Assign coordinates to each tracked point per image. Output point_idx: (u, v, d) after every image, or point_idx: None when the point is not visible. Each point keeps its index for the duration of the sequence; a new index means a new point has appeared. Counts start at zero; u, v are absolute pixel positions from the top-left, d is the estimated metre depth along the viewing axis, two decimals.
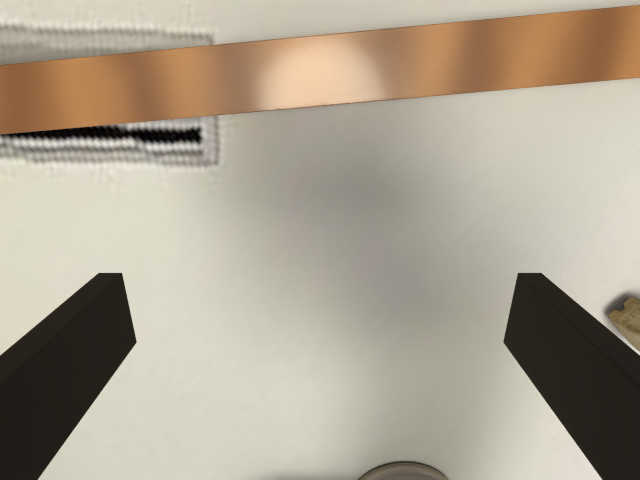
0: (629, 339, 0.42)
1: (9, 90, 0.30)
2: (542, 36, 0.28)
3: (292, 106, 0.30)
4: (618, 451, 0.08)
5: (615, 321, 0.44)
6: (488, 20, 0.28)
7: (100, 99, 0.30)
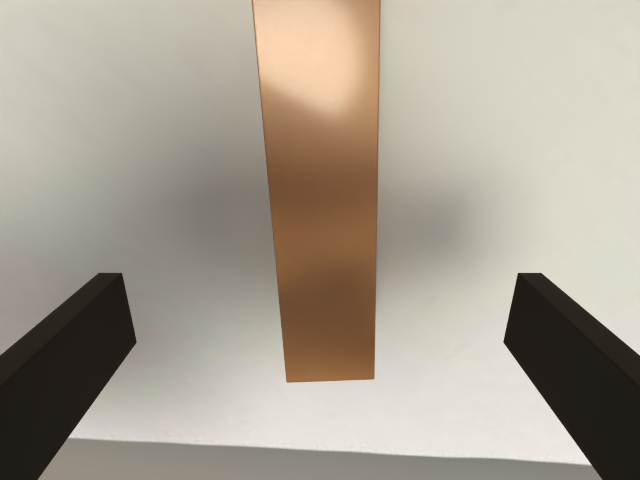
0: None
1: None
2: (344, 81, 0.16)
3: None
4: (618, 451, 0.08)
5: None
6: None
7: None
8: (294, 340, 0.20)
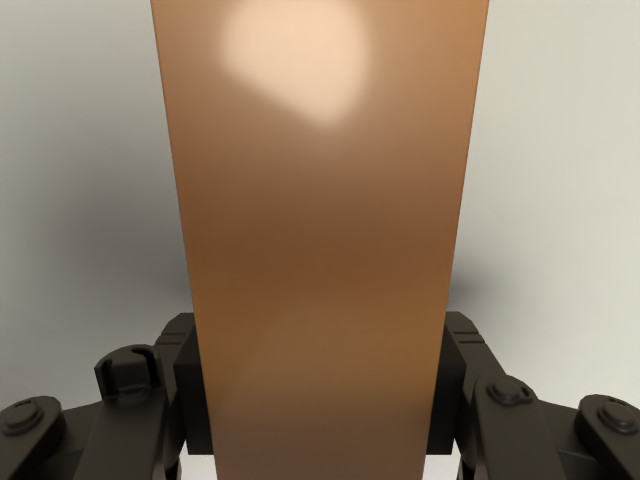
0: None
1: None
2: None
3: None
4: None
5: None
6: None
7: None
8: None
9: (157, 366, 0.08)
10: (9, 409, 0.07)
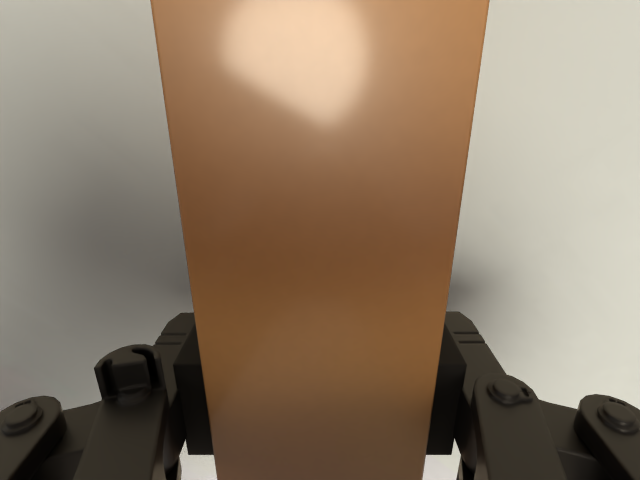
0: None
1: None
2: None
3: None
4: None
5: None
6: None
7: None
8: None
9: (157, 366, 0.08)
10: (9, 409, 0.07)
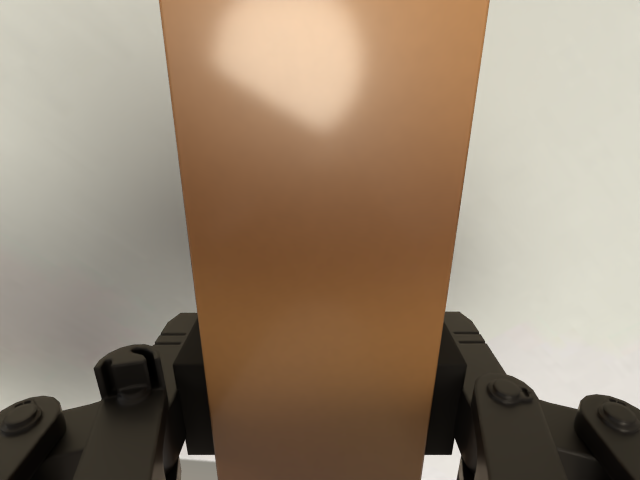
0: None
1: None
2: None
3: None
4: None
5: None
6: None
7: None
8: None
9: (156, 366, 0.08)
10: (8, 409, 0.07)
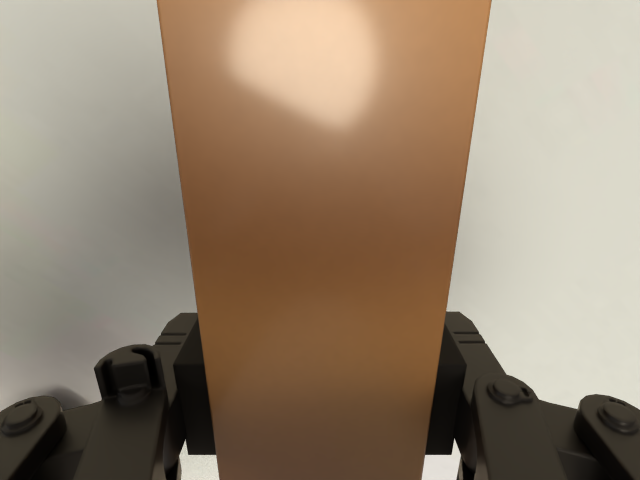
0: None
1: None
2: None
3: None
4: None
5: None
6: None
7: None
8: None
9: (157, 366, 0.08)
10: (9, 409, 0.07)
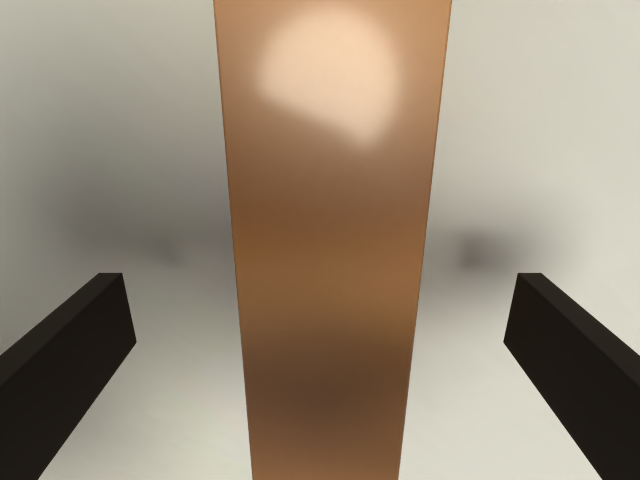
0: None
1: None
2: None
3: None
4: (618, 451, 0.08)
5: None
6: None
7: None
8: (268, 445, 0.12)
9: None
10: None
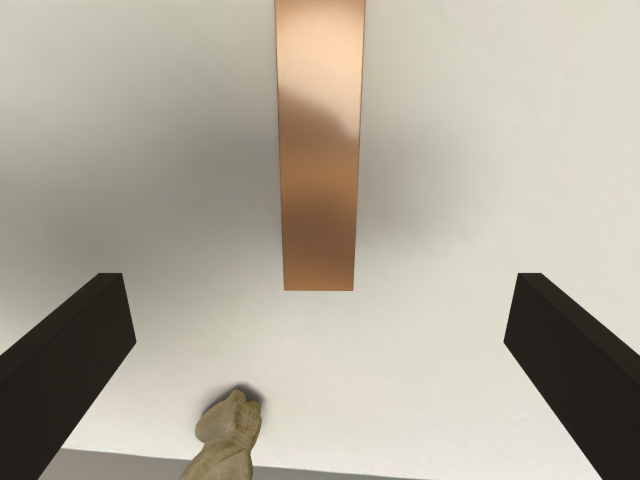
0: (220, 416, 0.36)
1: None
2: (337, 47, 0.21)
3: None
4: (618, 451, 0.08)
5: (234, 398, 0.38)
6: None
7: None
8: (291, 254, 0.26)
9: None
10: None
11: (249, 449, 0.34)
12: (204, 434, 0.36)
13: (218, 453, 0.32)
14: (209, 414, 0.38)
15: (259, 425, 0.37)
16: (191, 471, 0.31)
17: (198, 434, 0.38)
